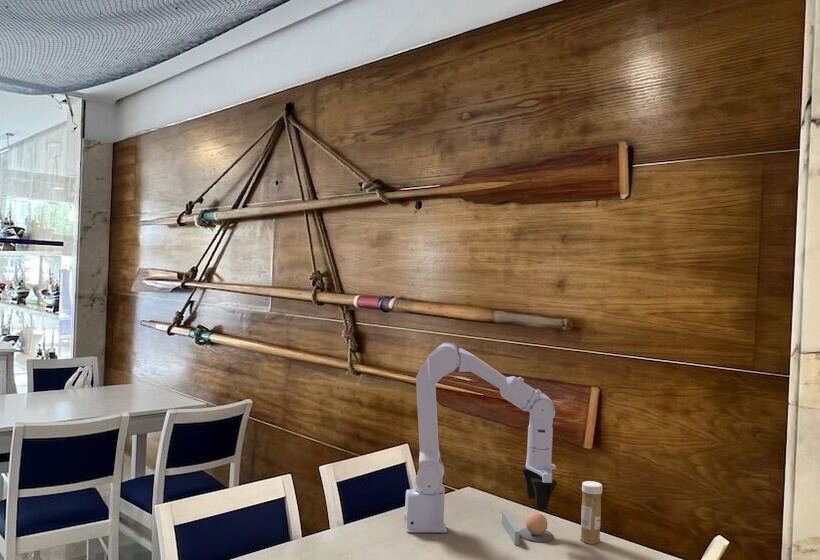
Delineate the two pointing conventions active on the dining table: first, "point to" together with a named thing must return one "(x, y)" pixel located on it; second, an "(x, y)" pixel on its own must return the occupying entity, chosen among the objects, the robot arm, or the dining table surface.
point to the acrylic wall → (510, 528)
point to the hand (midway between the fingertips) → (537, 503)
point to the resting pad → (536, 536)
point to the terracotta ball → (536, 523)
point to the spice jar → (591, 512)
